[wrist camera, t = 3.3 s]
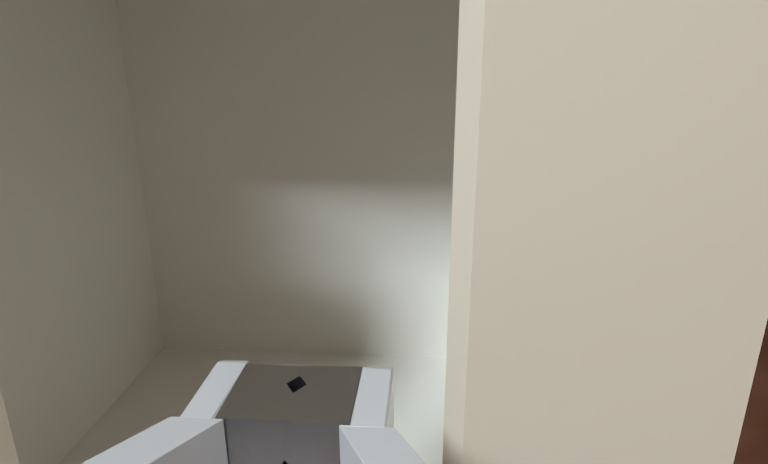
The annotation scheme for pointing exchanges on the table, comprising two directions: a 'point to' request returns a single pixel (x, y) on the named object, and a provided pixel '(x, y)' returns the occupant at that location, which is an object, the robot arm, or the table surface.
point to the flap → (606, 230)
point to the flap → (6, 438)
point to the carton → (219, 205)
